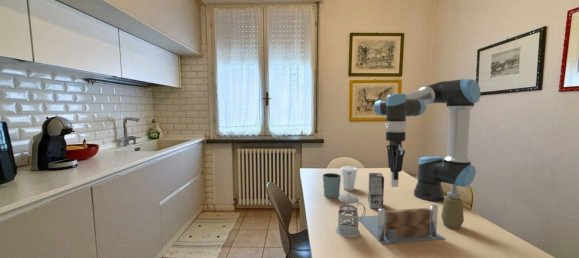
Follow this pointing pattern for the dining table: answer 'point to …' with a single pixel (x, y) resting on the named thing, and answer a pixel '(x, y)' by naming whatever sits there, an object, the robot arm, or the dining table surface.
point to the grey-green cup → (331, 185)
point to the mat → (372, 226)
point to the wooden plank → (408, 222)
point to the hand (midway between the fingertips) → (394, 186)
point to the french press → (348, 216)
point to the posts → (393, 231)
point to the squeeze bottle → (452, 209)
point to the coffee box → (376, 190)
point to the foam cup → (348, 177)
